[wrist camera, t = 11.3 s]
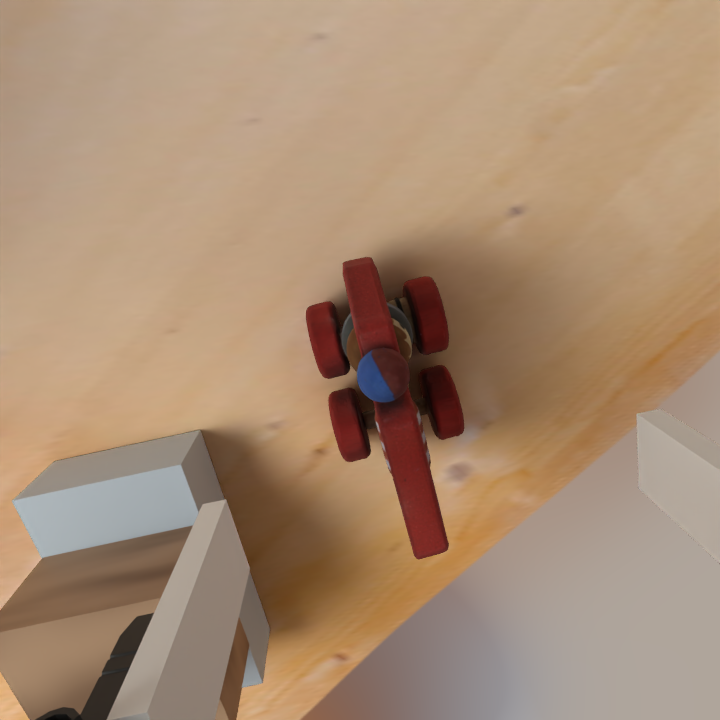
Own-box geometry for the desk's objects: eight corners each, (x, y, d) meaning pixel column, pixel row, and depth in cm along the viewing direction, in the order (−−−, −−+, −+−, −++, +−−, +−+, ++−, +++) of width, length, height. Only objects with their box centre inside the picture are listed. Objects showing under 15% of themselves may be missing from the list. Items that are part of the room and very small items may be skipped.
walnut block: (42, 557, 26) (-22, 636, 21) (204, 522, 26) (176, 594, 21) (104, 675, 29) (60, 768, 24) (249, 644, 29) (234, 731, 24)
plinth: (53, 461, 28) (11, 500, 25) (200, 429, 28) (180, 464, 25) (145, 655, 34) (122, 712, 30) (270, 628, 34) (262, 683, 30)
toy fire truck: (419, 237, 26) (475, 257, 16) (456, 435, 30) (519, 550, 20) (295, 268, 26) (275, 306, 16) (348, 461, 30) (358, 588, 20)
